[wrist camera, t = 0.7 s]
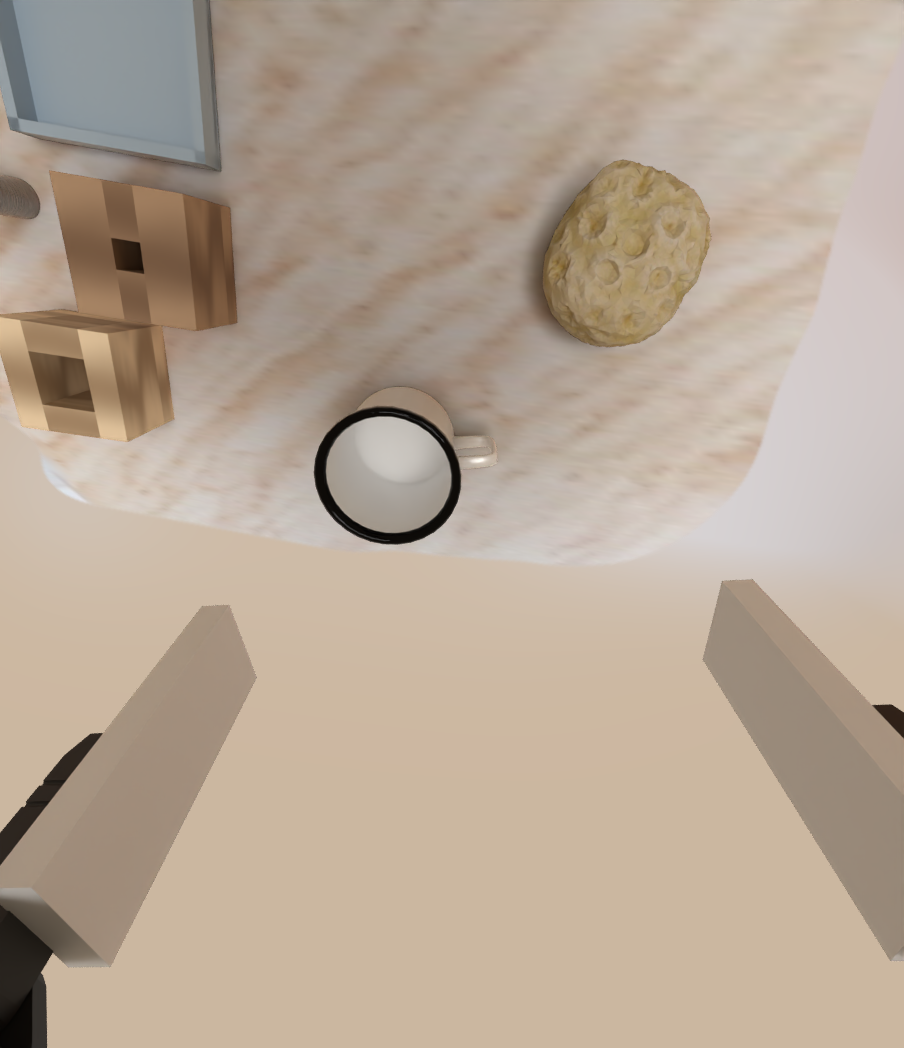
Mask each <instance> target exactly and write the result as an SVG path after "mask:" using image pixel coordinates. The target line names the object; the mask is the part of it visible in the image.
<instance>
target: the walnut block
mask: <svg viewBox="0 0 904 1048" xmlns="http://www.w3.org/2000/svg"><path fill="white" fill-rule="evenodd" d="M49 172H50V177H51V182H52V187H53V192H54V196H55V201H56V206H57V211H58V215H59V220H60V225H61V230H62V235H63V239H64V244H65V249H66V254H67V259H68V263H69V268H70V273H71V278H72V283H73V287H74V292H75V297H76V302H77V306H78V311H79V312H80V313H86V314H92V315H99V316H105V317H111V318H118V319H124V320H130V321H136V322H143V323H149V324H155V325H162V326H168V327H174V328H181V329H187V330H193V331H199V330H204V329H209V328H214V327H219V326H224V325H229V324H234V323H237V310H236V294H235V278H234V263H233V247H232V231H231V215H230V208H228V207H225V206H222V205H218V204H215V203H212V202H208V201H205V200H202V199H198V198H195V197H192V196H189V195H185V194H181V193H175V192H170V191H164V190H158V189H153V188H147V187H141V186H135V185H130V184H124V183H118V182H113V181H107V180H101V179H95V178H90V177H84V176H78V175H72V174H67V173H61V172H55V171H50V170H49Z"/></svg>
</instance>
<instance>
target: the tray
mask: <svg viewBox="0 0 904 1048" xmlns="http://www.w3.org/2000/svg"><path fill="white" fill-rule="evenodd" d="M0 88H1V92H2V96H3V101H4V105H5V109H6V113H7V118H8V122H9V126H10V130H13V131H16V132H19V133H22V134H25V135H28V136H32V137H35V138H38V139H43V140H49V141H54V142H60V143H66V144H71V145H77V146H83V147H88V148H94V149H99V150H105V151H111V152H116V153H122V154H128V155H133V156H139V157H144V158H150V159H156V160H161V161H167V162H173V163H178V164H184V165H189V166H195V167H201V168H206V169H212V170H218V171H221V163H220V148H219V134H218V119H217V105H216V90H215V76H214V61H213V47H212V32H211V18H210V3H209V0H0Z"/></svg>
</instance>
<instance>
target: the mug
mask: <svg viewBox="0 0 904 1048" xmlns="http://www.w3.org/2000/svg"><path fill="white" fill-rule="evenodd" d="M475 447H489V448H490V450H491V453H492V454H488V455H477V456H457V454H456V452H455V450H457V449H466V448H475ZM497 462H498V460H497V446H496V443H495V441H494V439H493V438H491V437H490V436H454V431H453V426H452V423H451V421H450V418H449V416H448V414H447V413H446V411H445V410H444V408H443V407H442V406H441V405H440V404H439V403H438V402H437V401H436V400H435V399H434V398H432V397H431V396H429V395H428V394H426V393H424V392H422V391H420V390H417V389H413V388H409V387H391V388H385V389H383V390H380V391H378V392H375V393H374V394H372V395H371V396H369V397H368V398H367V399H366V400H365V401H364V402H363V403H362V404H361V405H360V406H359V408H358V409H357V410H356V411H355V412H352V413H350V414H348V415H347V416H345V417H344V418H342V419H341V420H339V421H338V422H337V423H336V424H335V425H334V426H333V427H332V428H331V429H330V430H329V431H328V432H327V434H326V435H325V437H324V439H323V441H322V442H321V444H320V446H319V449H318V452H317V455H316V458H315V466H314V478H315V485H316V489H317V492H318V495H319V498H320V500H321V502H322V503H323V505H324V507H325V509H326V510H327V512H328V513H329V514H330V515H331V516H332V518H333V519H334V520H335V521H336V522H337V523H338V524H339V525H341V526H342V527H343V528H344V529H346V530H347V531H349V532H350V533H352V534H354V535H356V536H357V537H360V538H362V539H365V540H368V541H370V542H375V543H380V544H395V545H398V544H405V543H411V542H414V541H417V540H420V539H423V538H425V537H426V536H428V535H430V534H432V533H434V532H435V531H436V530H437V529H439V528H440V527H441V526H442V525H443V524H444V523H445V522H446V521H447V519H448V518H449V517H450V515H451V514H452V512H453V510H454V508H455V506H456V504H457V502H458V498H459V494H460V490H461V470H463V469H473V468H483V467H490V466H493V465H495V464H496V463H497Z"/></svg>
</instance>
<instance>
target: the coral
mask: <svg viewBox="0 0 904 1048" xmlns="http://www.w3.org/2000/svg"><path fill="white" fill-rule="evenodd" d="M709 220H710V218H709V216H708V214H707V212H706V211H705V209H704V206H703V203H702V201H701V199H700V197H699V196H698V195H697V193H696V192H695V190H694V189H691V188H690V187H689V186H688V185H687V184H685V183H683V182H681V181H679V180H678V179H677V178H676V177H675V176H673V175H672V174H670V173H666V171H665V170H664V171H658V170H656V169H655V168H653V167H645V166H643V165H641V164H640V163H635V162H632V161H627V160H619V161H615V162H613V163H611V164H610V165H608V166H606V167H605V168H603V169H602V170H601V171H600V172H599V173H598V175H597V176H596V177H595V178H594V179H593V180H592V181H591V182H590V183H589V184H588V185H587V186H586V187H585V188H584V189H583V190H582V191H581V192H580V193H579V194H578V195H577V197H576V199H575V200H574V202H573V203H572V205H571V206H570V207H569V209H568V210H567V211H566V214H564V216H563V219H562V220H561V222H560V223H559V225H558V227H557V228H556V230H555V232H554V235H553V236H552V240H551V242H550V245H549V247H548V250H547V252H546V254H545V257H544V266H543V267H544V268H543V289H544V294H545V297H546V299H547V302H548V306H549V308H550V310H551V313H552V314H553V316H554V317H555V318H556V320H558V321H559V323H560V325H561V326H562V327H564V328H565V330H566V331H568V332H569V333H570V335H573V337H576V338H578V339H579V340H580V341H582V342H584V343H589V344H590V345H595V346H599V347H602V346H605V347H614V346H625V345H629V344H636V343H640V342H641V341H643V340H646V339H647V338H648V337H650V336H652V335H654V334H656V333H657V332H658V331H660V329H661V328H662V327H663V325H665V324H666V323H667V322H668V321H669V320H670V319H671V318H672V317H673V316H674V314H675V313H676V311H677V309H678V308H679V305H680V303H681V302H682V299H683V296H684V295H685V294H686V293H687V292H689V290H690V289H691V288H692V287H693V286H694V284H695V283H696V282H697V280H698V277H699V274H700V271H701V266H702V263H703V260H704V258H705V257H706V255H707V250H708V248H709V242H710V240H711V234H710V227H709Z"/></svg>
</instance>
